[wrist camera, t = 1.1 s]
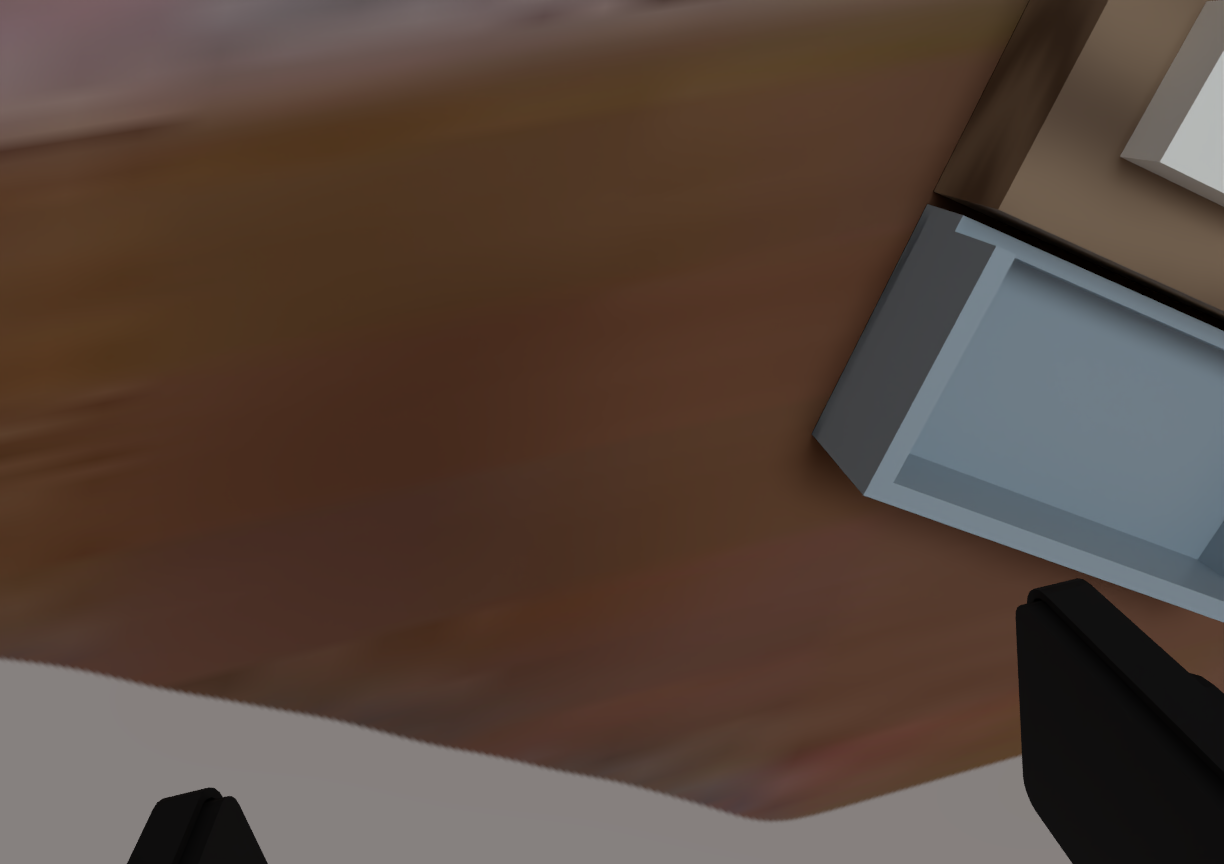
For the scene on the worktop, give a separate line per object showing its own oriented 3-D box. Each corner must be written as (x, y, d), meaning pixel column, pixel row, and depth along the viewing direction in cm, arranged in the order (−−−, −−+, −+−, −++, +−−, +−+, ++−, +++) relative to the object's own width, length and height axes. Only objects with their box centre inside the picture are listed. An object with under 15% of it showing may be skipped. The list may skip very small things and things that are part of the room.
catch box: (927, 204, 35) (1005, 228, 30) (1319, 378, 40) (1451, 427, 34) (811, 433, 38) (863, 495, 33) (1188, 571, 43) (1290, 645, 37)
